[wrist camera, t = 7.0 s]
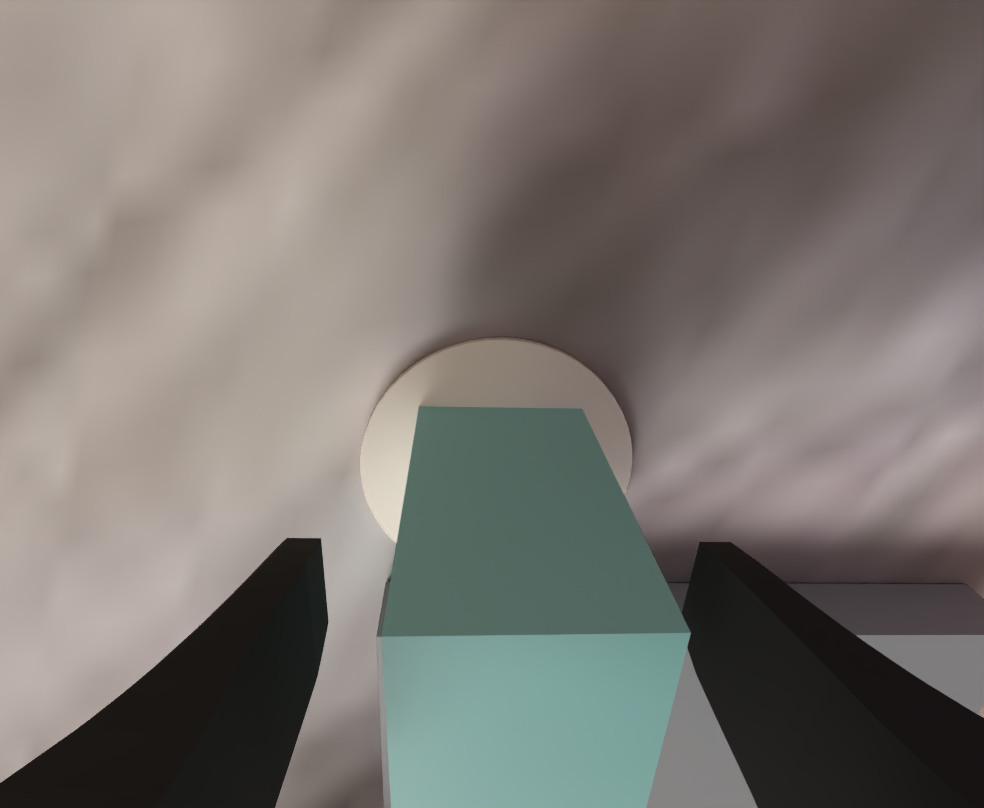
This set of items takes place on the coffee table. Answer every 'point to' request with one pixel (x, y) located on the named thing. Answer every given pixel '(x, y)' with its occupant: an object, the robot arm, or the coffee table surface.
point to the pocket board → (859, 608)
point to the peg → (523, 621)
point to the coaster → (482, 383)
